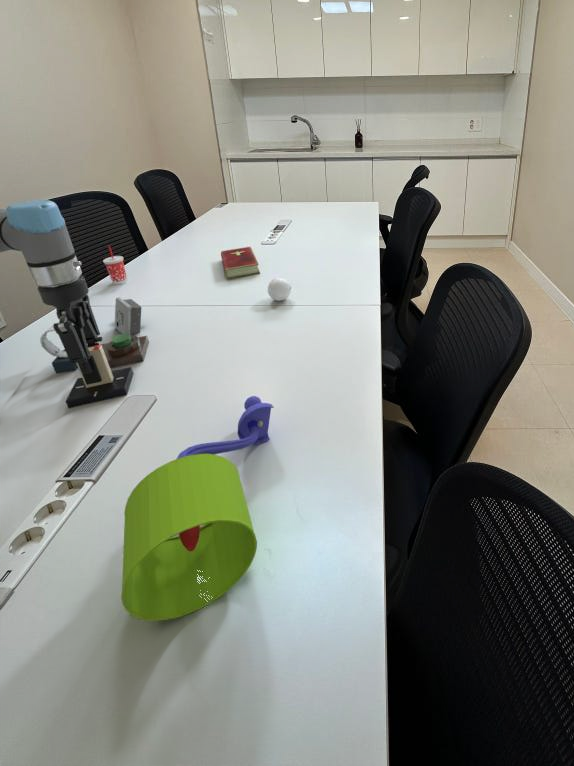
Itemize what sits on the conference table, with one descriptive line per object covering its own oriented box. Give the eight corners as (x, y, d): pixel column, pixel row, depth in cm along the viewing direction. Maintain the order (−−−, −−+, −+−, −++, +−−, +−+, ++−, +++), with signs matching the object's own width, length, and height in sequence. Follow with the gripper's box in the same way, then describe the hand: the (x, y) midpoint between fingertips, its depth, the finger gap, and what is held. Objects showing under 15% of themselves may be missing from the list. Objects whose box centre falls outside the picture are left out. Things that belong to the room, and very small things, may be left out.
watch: (84, 369, 94) (69, 331, 90) (47, 374, 93) (30, 335, 89) (95, 356, 99) (81, 319, 95) (60, 360, 98) (44, 323, 94)
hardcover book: (226, 279, 141) (224, 269, 139) (222, 260, 158) (220, 250, 157) (260, 273, 145) (258, 263, 143) (252, 255, 163) (250, 245, 161)
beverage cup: (109, 281, 142) (97, 245, 136) (127, 276, 145) (117, 241, 140) (112, 286, 138) (100, 250, 132) (131, 281, 141) (120, 245, 136)
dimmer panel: (67, 410, 82) (64, 402, 81) (80, 383, 90) (77, 376, 89) (126, 397, 85) (123, 389, 84) (134, 372, 93) (131, 364, 92)
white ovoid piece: (293, 302, 123) (291, 281, 120) (269, 306, 121) (266, 285, 118) (290, 289, 132) (287, 269, 129) (268, 292, 130) (264, 272, 127)
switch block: (88, 372, 93) (82, 359, 92) (97, 352, 101) (93, 339, 99) (143, 361, 97) (139, 348, 95) (149, 342, 105) (145, 329, 103)
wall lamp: (128, 382, 64) (121, 548, 40) (265, 366, 76) (323, 486, 52) (127, 453, 69) (121, 641, 45) (257, 427, 81) (307, 565, 56)
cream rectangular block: (86, 387, 85) (72, 353, 81) (88, 383, 86) (74, 349, 83) (112, 382, 87) (99, 348, 83) (113, 377, 88) (101, 344, 84)
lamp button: (112, 349, 96) (110, 343, 95) (115, 341, 99) (113, 335, 98) (130, 346, 97) (128, 340, 96) (133, 337, 100) (131, 332, 100)
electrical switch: (114, 328, 112) (108, 298, 109) (134, 322, 116) (129, 293, 112) (126, 339, 106) (120, 309, 103) (147, 333, 110) (141, 303, 107)
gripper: (68, 295, 70) (107, 396, 79) (94, 262, 85) (124, 350, 94) (18, 303, 68) (64, 406, 77) (53, 267, 83) (88, 357, 92)
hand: (97, 375), depth 86 cm, fingers open, 4 cm apart
